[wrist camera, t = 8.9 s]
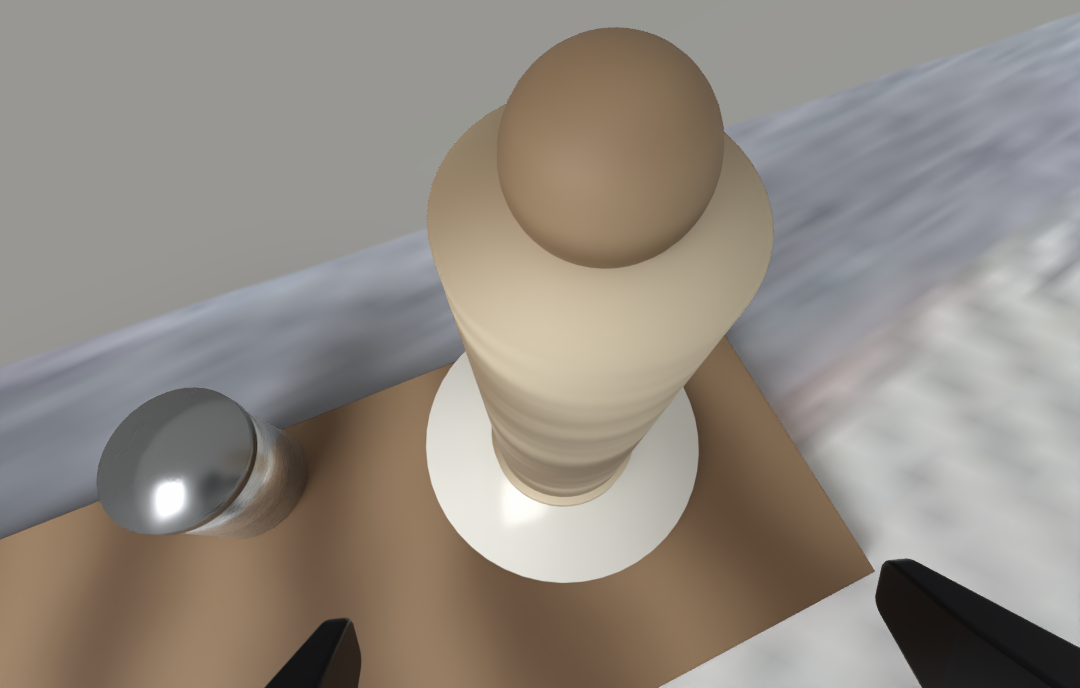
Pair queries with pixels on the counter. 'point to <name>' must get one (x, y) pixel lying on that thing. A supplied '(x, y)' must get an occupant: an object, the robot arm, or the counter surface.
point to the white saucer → (551, 531)
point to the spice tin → (199, 469)
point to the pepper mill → (595, 253)
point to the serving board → (428, 571)
